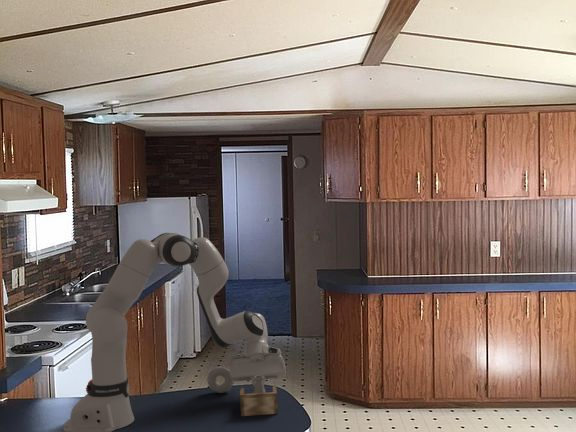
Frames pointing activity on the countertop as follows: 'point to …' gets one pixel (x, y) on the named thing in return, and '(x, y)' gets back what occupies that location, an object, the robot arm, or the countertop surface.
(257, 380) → the flask
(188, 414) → the countertop surface
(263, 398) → the wooden arch bench
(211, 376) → the donut
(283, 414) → the countertop surface
